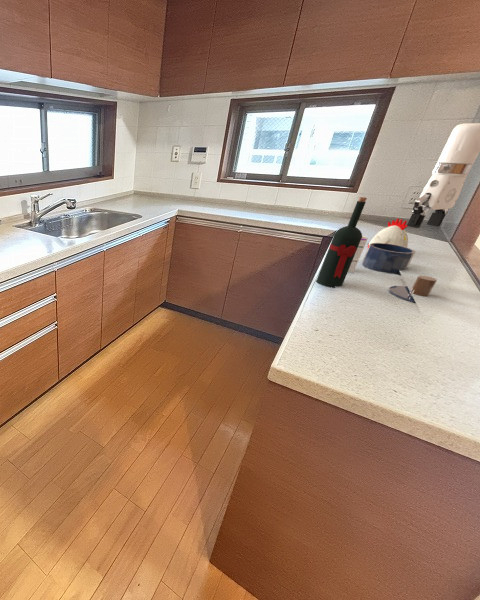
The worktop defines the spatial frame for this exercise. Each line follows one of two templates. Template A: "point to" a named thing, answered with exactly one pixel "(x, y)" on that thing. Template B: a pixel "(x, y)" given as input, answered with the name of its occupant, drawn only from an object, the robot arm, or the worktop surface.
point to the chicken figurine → (392, 234)
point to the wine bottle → (342, 250)
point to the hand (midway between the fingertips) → (422, 226)
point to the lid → (414, 288)
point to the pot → (387, 258)
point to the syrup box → (358, 254)
